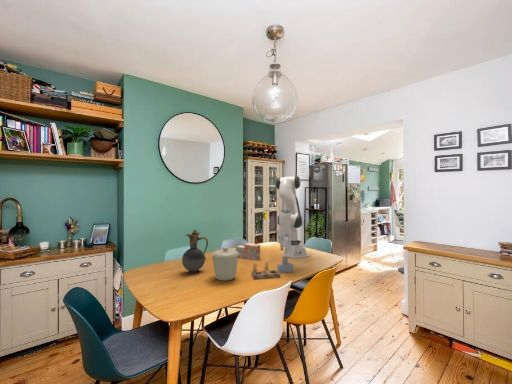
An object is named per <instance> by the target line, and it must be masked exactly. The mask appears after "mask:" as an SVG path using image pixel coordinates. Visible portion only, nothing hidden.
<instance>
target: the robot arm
mask: <svg viewBox="0 0 512 384" xmlns="http://www.w3.org/2000/svg"><path fill="white" fill-rule="evenodd" d="M301 183H302V181H301V178H300V176H298V175H297V176H296V175H294V176H289V175H288V176H283V177H277V178H276V179H275V182H274V185H275V188H276V189H277V190H278V195H279V198H280V199H281V201H283V202H284V203H283V204H284V208H285V209H282V210H280V212H279V215H278V216H277V218H276V219H277V222H276V223H277V225H278V230H277V242H278V244H279V245H280V246H279V247H280V251H282V252H284V253H283V256H284V257H287V258H292V259H299V258H308V256H309V257H310V254H309V253H307V250H306V248H305V247H304V245H302V243H303V242H302V240H299V239H298V236H299V235H298V234H299V231H298V229H299V228H301V227H302V226H303V218H302V213H301V210H300V204H299V200H298V197H297V192H296V191H297V190H298V189H300V187H301V185H302V184H301Z"/></svg>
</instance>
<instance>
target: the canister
mask: <svg viewBox="0 0 512 384" xmlns="http://www.w3.org/2000/svg"><path fill="white" fill-rule="evenodd" d="M238 255H239V252H237V251H236V249H232V248H231V249H230V248H229V247H228V246H223V248H222V249H217V250H215V251H214V252H212V253H211V256H212V261H213V271H214V277H215V278H216V279H217V280H218V281H223V282H225V281H231V280H234V279H235V278H236V275H237V269H238V259H239V257H238Z"/></svg>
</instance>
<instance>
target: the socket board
mask: <svg viewBox="0 0 512 384" xmlns="http://www.w3.org/2000/svg"><path fill="white" fill-rule="evenodd" d="M251 277H252V279H253V280H265V279H278V278H279V279H280V278H281V273H279V272H278V271H277V269H273V270H269V269H268V270H259V271H258V270H257V271H251Z"/></svg>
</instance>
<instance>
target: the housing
mask: <svg viewBox="0 0 512 384" xmlns="http://www.w3.org/2000/svg"><path fill="white" fill-rule="evenodd" d="M281 258H282V261H281V262H280V263H277V266H276V267H277V269H276V270H277V271H278V272H279V273H280V274H284V273H286V272H288V273H294V264H293V263H291V262H288V261H289V257H286V256H284V257H283V256H282V257H281ZM286 274H287V273H286Z"/></svg>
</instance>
